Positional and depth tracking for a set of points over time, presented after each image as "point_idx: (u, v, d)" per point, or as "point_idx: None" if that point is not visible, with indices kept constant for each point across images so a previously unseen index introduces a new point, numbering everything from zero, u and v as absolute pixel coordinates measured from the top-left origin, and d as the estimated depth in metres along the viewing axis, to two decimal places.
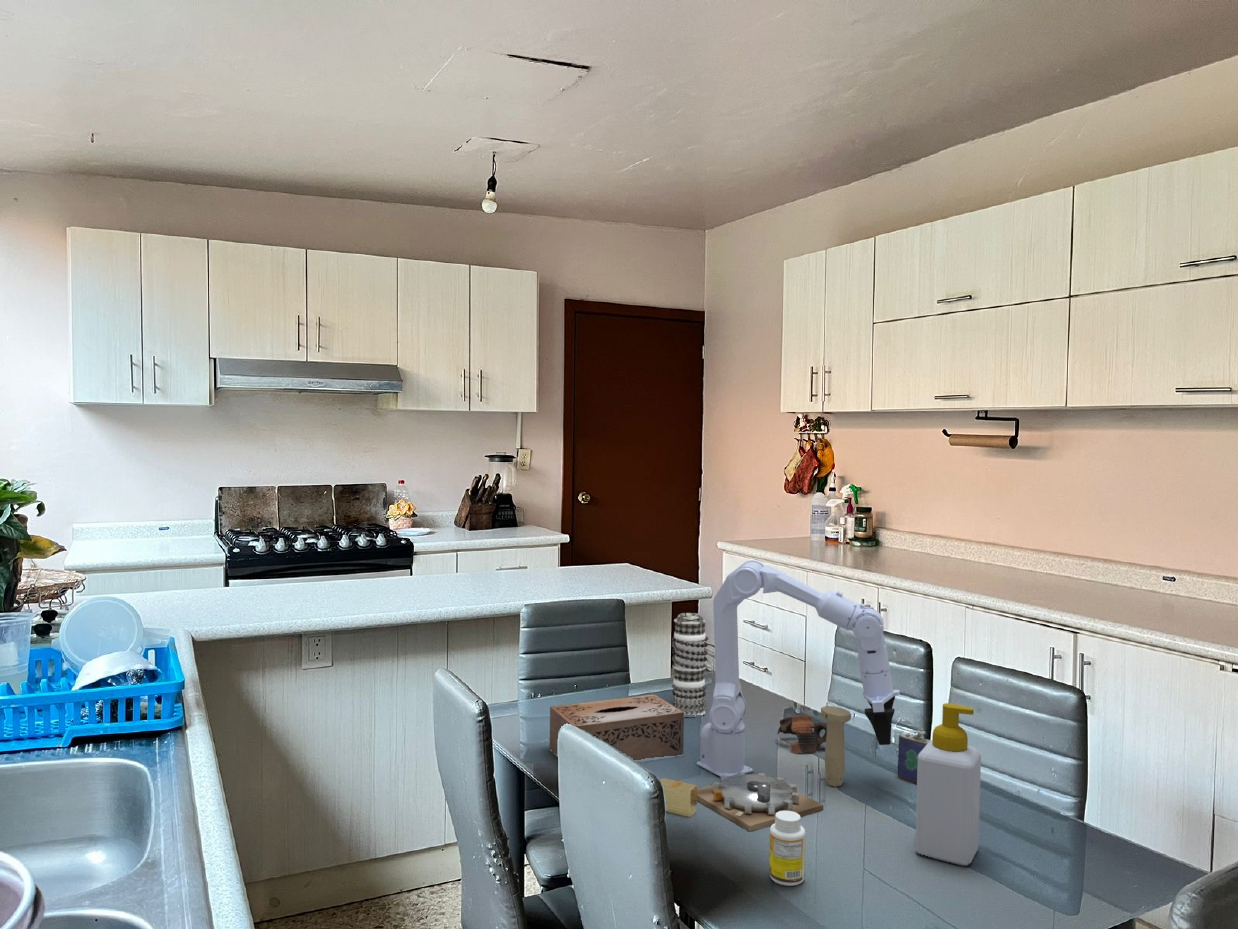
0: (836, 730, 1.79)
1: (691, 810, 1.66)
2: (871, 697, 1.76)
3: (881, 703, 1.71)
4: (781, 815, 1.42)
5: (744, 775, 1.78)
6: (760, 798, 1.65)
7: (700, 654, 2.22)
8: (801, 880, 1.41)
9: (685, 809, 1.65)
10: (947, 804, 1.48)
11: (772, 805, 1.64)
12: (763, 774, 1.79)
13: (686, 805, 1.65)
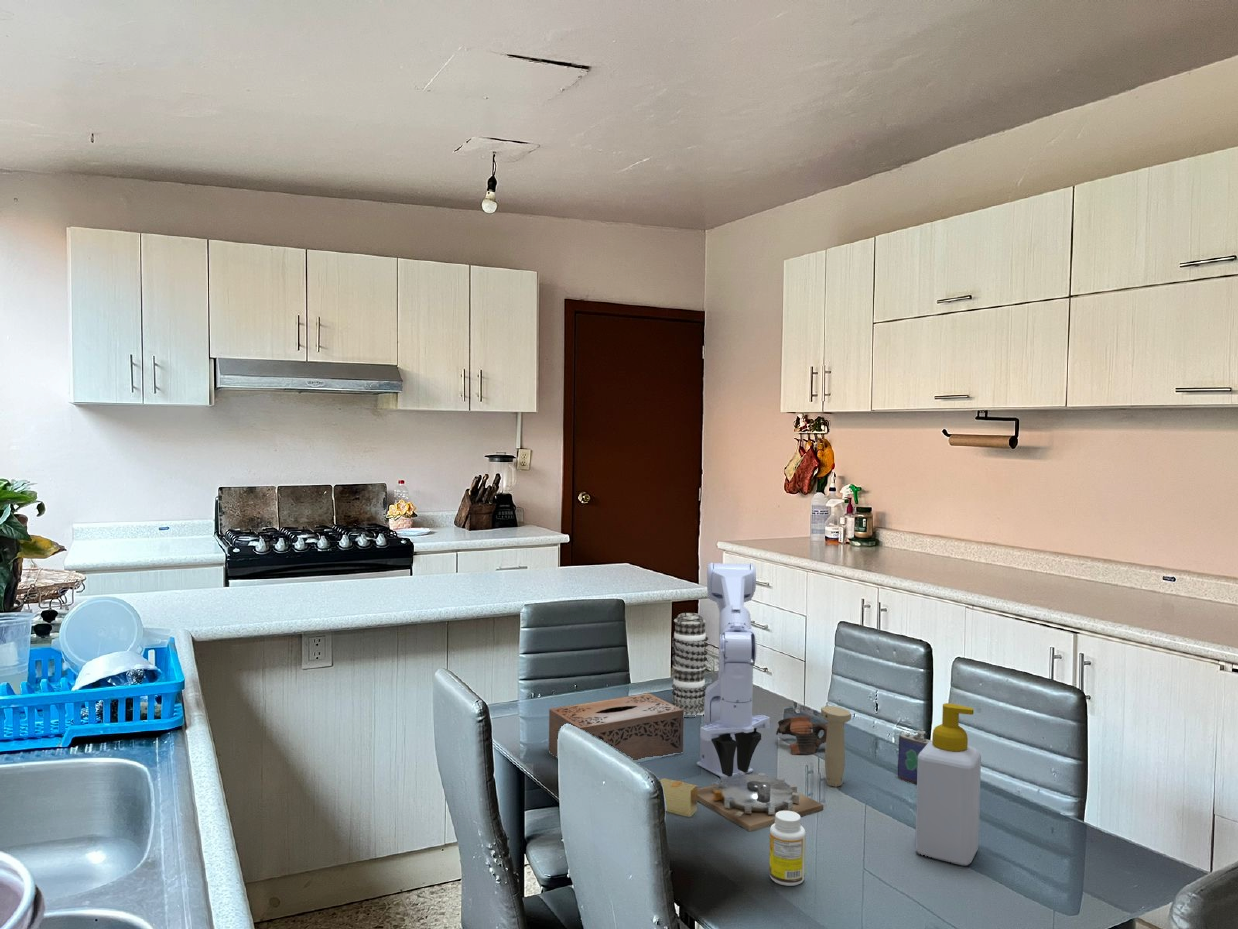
0: (836, 730, 1.79)
1: (691, 810, 1.66)
2: (719, 724, 1.61)
3: (706, 731, 1.57)
4: (781, 815, 1.42)
5: (744, 775, 1.78)
6: (760, 798, 1.65)
7: (700, 654, 2.22)
8: (801, 880, 1.41)
9: (685, 809, 1.65)
10: (947, 804, 1.48)
11: (772, 805, 1.64)
12: (763, 774, 1.79)
13: (686, 805, 1.65)
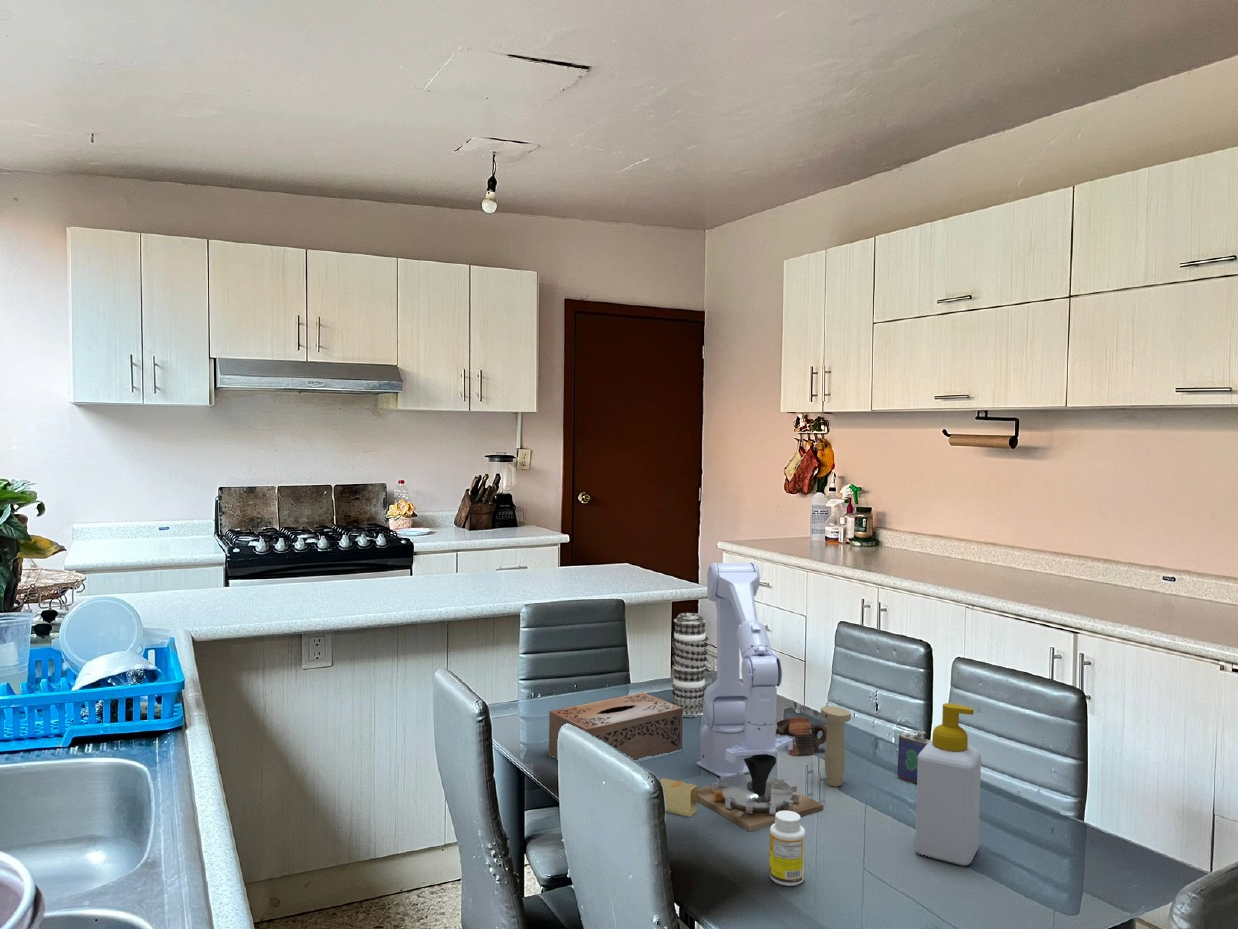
0: (836, 730, 1.79)
1: (691, 810, 1.66)
2: (743, 746, 1.64)
3: (731, 753, 1.60)
4: (781, 815, 1.42)
5: (743, 776, 1.78)
6: (761, 798, 1.65)
7: (700, 654, 2.22)
8: (801, 880, 1.41)
9: (685, 809, 1.65)
10: (947, 804, 1.48)
11: (773, 805, 1.64)
12: None
13: (686, 804, 1.65)
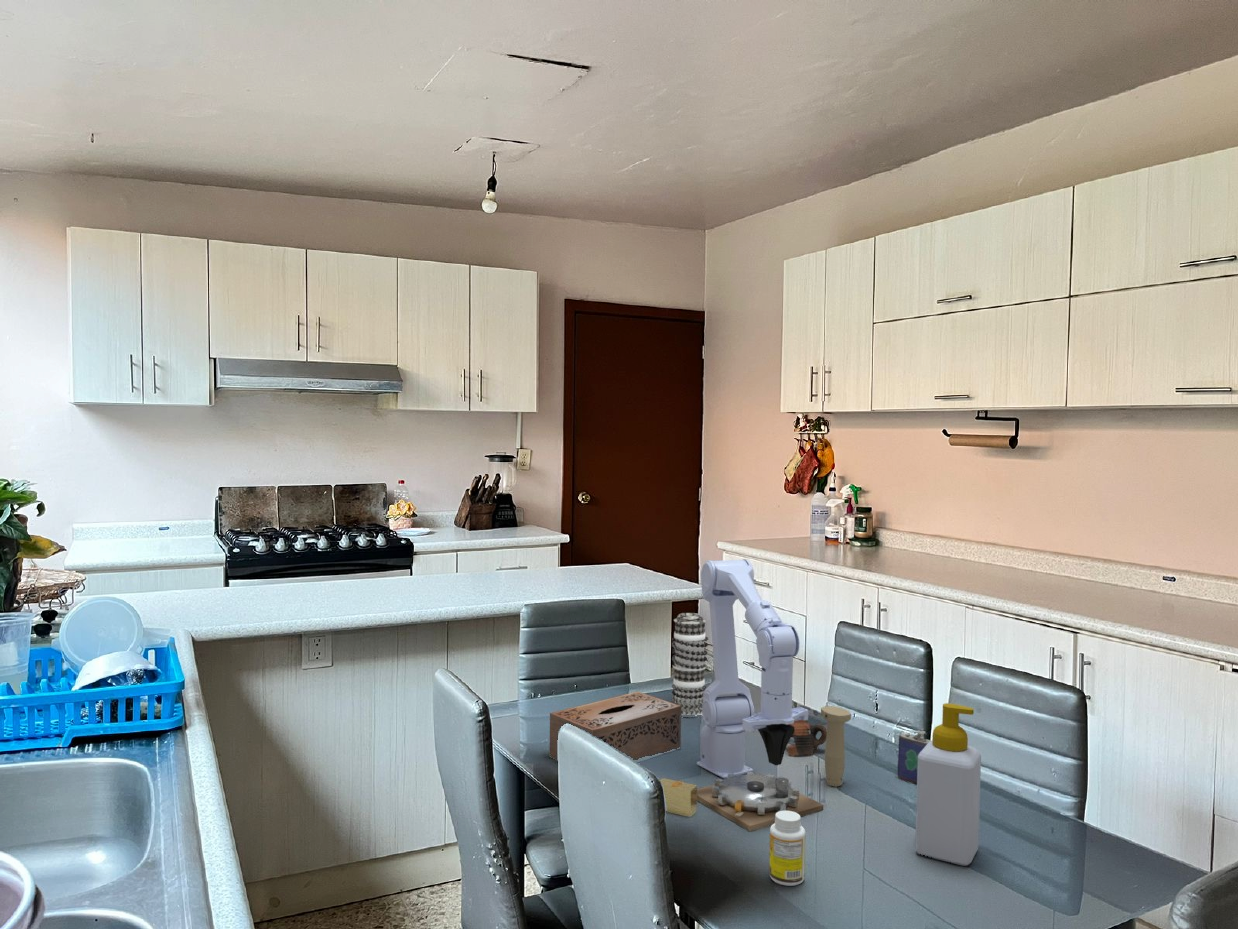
0: (836, 730, 1.79)
1: (691, 810, 1.66)
2: (760, 716, 1.66)
3: (748, 723, 1.62)
4: (781, 815, 1.42)
5: (724, 781, 1.75)
6: (783, 794, 1.67)
7: (700, 654, 2.22)
8: (801, 880, 1.41)
9: (685, 809, 1.65)
10: (947, 804, 1.48)
11: (795, 797, 1.68)
12: (732, 774, 1.78)
13: (686, 804, 1.65)
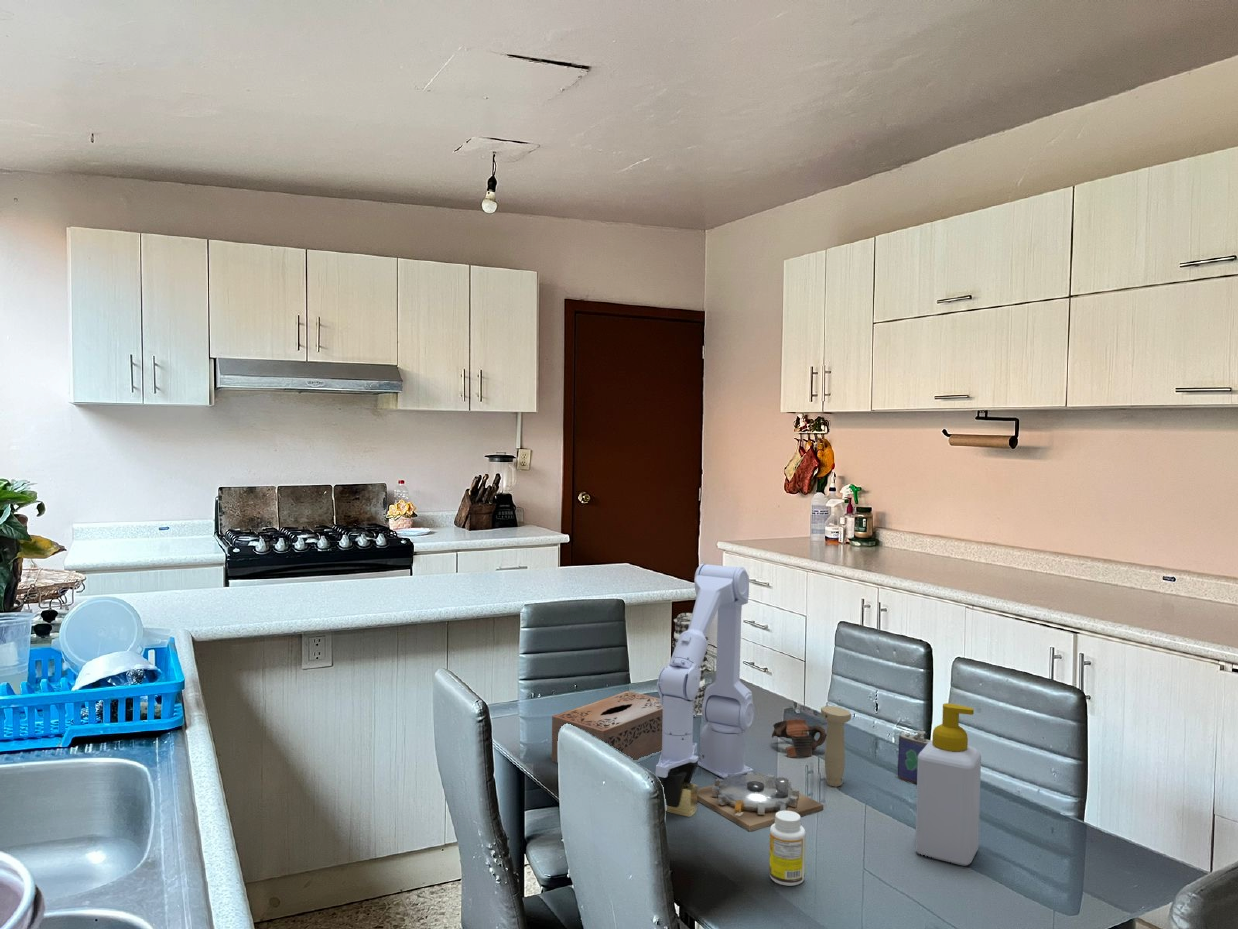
0: (836, 730, 1.79)
1: (691, 809, 1.66)
2: (664, 758, 1.66)
3: (664, 768, 1.61)
4: (781, 815, 1.42)
5: (724, 781, 1.75)
6: (783, 794, 1.67)
7: None
8: (801, 880, 1.41)
9: (685, 808, 1.65)
10: (947, 804, 1.48)
11: (795, 797, 1.68)
12: (732, 774, 1.78)
13: (686, 804, 1.65)
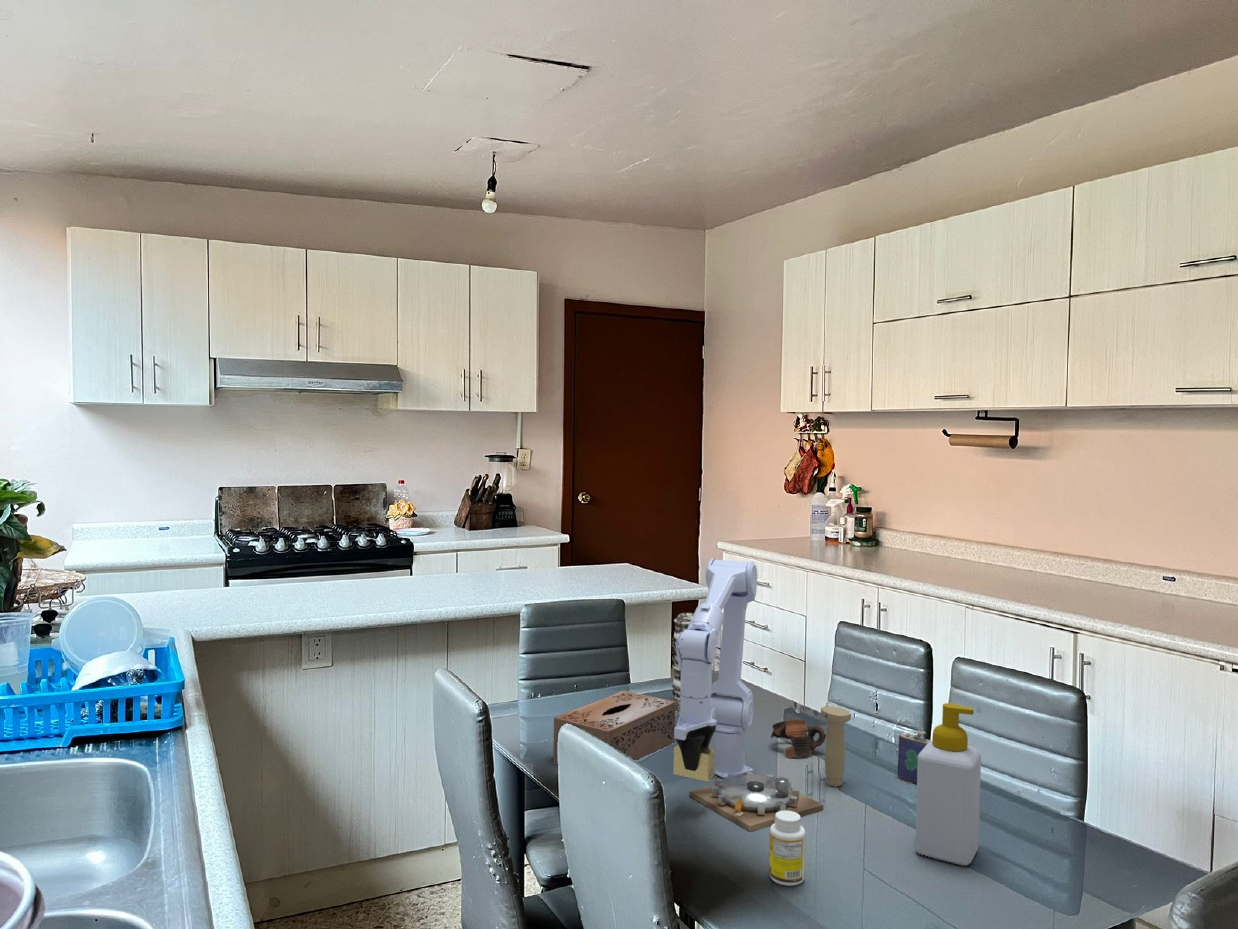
0: (836, 730, 1.79)
1: (709, 774, 1.65)
2: (682, 722, 1.65)
3: (682, 731, 1.60)
4: (781, 815, 1.42)
5: (724, 781, 1.75)
6: (783, 794, 1.67)
7: None
8: (801, 880, 1.41)
9: (703, 773, 1.65)
10: (947, 804, 1.48)
11: (795, 797, 1.68)
12: (732, 774, 1.78)
13: (704, 768, 1.65)
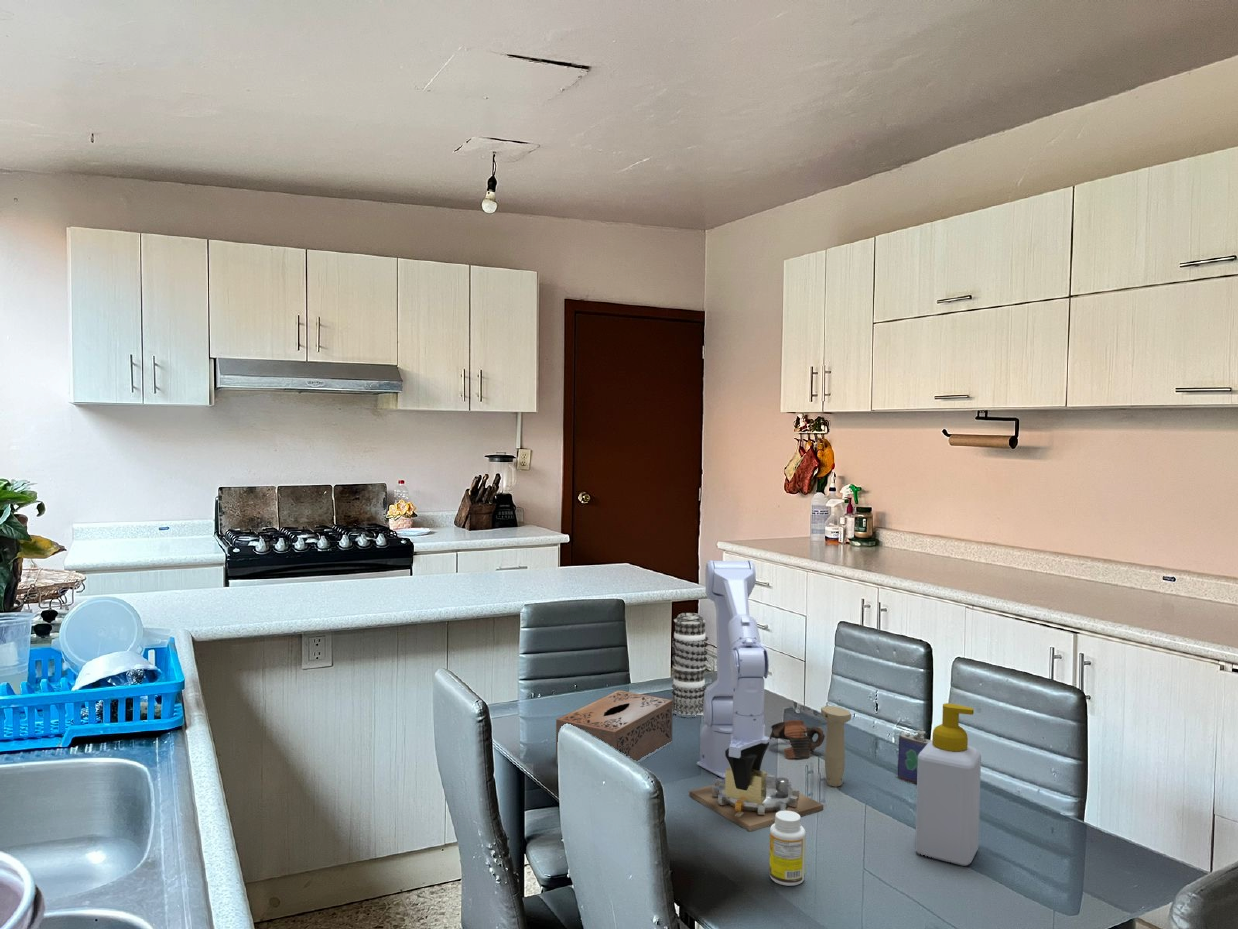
0: (836, 730, 1.79)
1: (762, 796, 1.65)
2: (736, 739, 1.65)
3: (737, 749, 1.60)
4: (781, 815, 1.42)
5: (724, 781, 1.75)
6: (783, 794, 1.67)
7: (700, 654, 2.22)
8: (801, 880, 1.41)
9: (756, 795, 1.65)
10: (947, 804, 1.48)
11: (795, 797, 1.68)
12: None
13: (756, 791, 1.65)
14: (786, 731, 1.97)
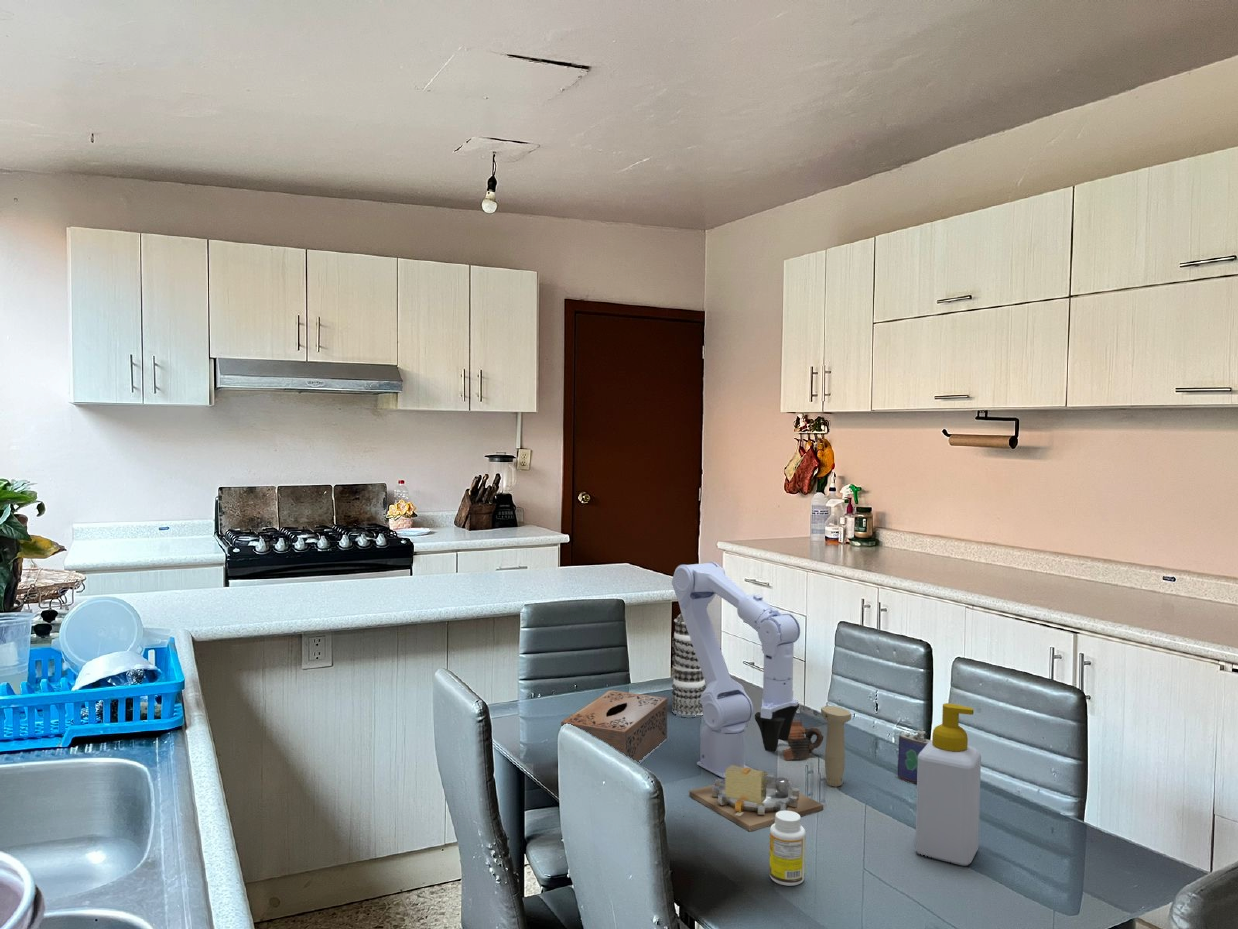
0: (836, 730, 1.79)
1: (762, 796, 1.65)
2: (766, 702, 1.75)
3: (769, 710, 1.70)
4: (781, 815, 1.42)
5: (724, 781, 1.75)
6: (783, 794, 1.67)
7: None
8: (801, 880, 1.41)
9: (756, 795, 1.65)
10: (947, 804, 1.48)
11: (795, 797, 1.68)
12: None
13: (756, 791, 1.65)
14: None
